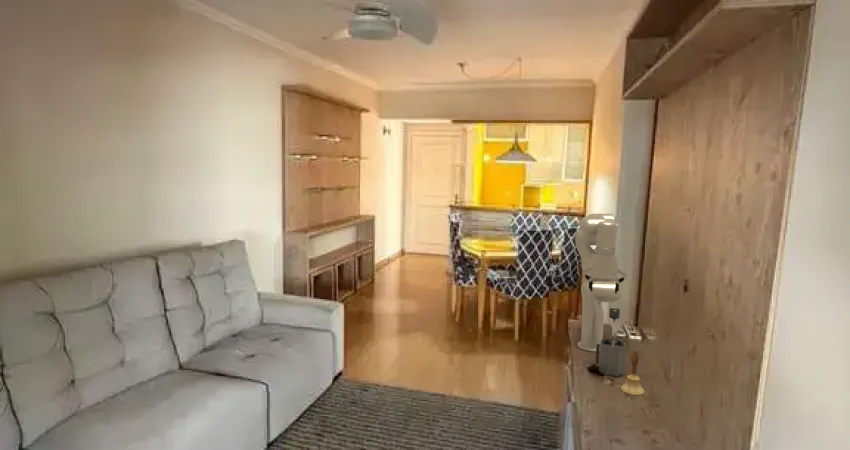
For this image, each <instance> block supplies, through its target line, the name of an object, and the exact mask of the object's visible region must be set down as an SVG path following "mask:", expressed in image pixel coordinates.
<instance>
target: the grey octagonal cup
mask: <svg viewBox="0 0 850 450" xmlns="http://www.w3.org/2000/svg"><path fill="white" fill-rule="evenodd" d="M605 344H612V338H605V339H604V338H603V340H601V343H600V344H597V347H596V352H595V364H596V365H598V364H599V365H598V366H599V367H598V372H599V373H600V374H602V375H604V376H606V375H607V377H611V378H620V377H623V376H625V363H626V346H627V345H626V342H625V341H622V340H620V339H616V338H615V339H614V344H616V345H619V346H620V347H613V346H607V345H605ZM599 350H600V352H599Z"/></svg>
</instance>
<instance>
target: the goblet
mask: <svg viewBox="0 0 850 450" xmlns="http://www.w3.org/2000/svg"><path fill="white" fill-rule="evenodd" d="M620 316H621V309H620V308H617V307H609V311H608V318H609V319H612V329H611V331H612V332H611V339H612V344H605V345H607V346H613V347H620V346H619V345H616V344H614V339H616V338H615V337H616V335H615V333H616V320H619V319H620Z"/></svg>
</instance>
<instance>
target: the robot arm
mask: <svg viewBox="0 0 850 450" xmlns="http://www.w3.org/2000/svg"><path fill="white" fill-rule="evenodd" d="M579 225H580V229H578V230H577V231H576V232H575V235H574V236H575V237H574V238H575V239H574V240H575V247H576V249H577V251H578V253H579V256H580V258H581V269H582V276H583V279H584V280H585V281H584V282H583V283H582V285H581V287H580V288H581V292H580V293H581V299H582V300H581V302H582V311H581V312H582V313H581V314H582V315H581V332H580V333H581V336H580V338H581V339H580V341H578V342H577V347H578V348H579V349H581V350H582V351H586V352H592V353H596V347H597V344H600V343H601V340H603V339H604V318H605V317H604V316H605V313H604V312H605V311H604V309H603V307H602V306H601V304H599V303H609V304H610V303H615V304H616V303H619V302H620V301H621V300H622V294H623V293H622V285H621V284H622V283H623V282H624V281H625V279H626V277H628V273H627V272H625V271H623V270H622V269H620V268H619V262H618V256H617V255H618V254H616V248H617V247H616V245H617V233H618V230H619V225H618V219H617V217H616V216H615V215H614V214H612V213H590V214H587V216H584V217H582V219H581V221H580V224H579ZM593 246H595V247H593ZM620 275H622V276H621V277H620ZM599 353H600V350H599Z"/></svg>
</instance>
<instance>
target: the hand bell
mask: <svg viewBox="0 0 850 450" xmlns="http://www.w3.org/2000/svg"><path fill="white" fill-rule="evenodd" d="M632 351H633V352H632V354H631V356H630V361H631V372H630V374H628V375H627V376H626V379H625V380H626V381H625V383H624V384H623V385H621V387H620V390H621V392H624V393H625V394H628V395H631V396H641V395H642V396H643V395H644V394H645V390H644V388H643V387H642V385H641V379H640V377H639V376H638V375H637V366H638V364H639V359H640V358H639V353H638V350H637V349H633V350H632Z"/></svg>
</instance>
